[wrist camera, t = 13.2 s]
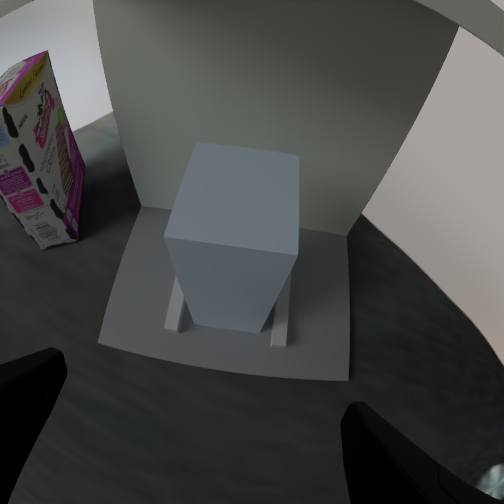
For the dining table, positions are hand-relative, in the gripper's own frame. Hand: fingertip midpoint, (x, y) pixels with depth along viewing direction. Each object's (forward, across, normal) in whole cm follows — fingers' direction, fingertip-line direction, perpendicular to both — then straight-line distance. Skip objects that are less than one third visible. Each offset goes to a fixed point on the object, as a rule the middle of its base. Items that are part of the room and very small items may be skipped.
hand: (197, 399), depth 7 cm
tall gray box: (+15, 0, +3) cm, 15 cm away
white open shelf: (+16, 0, +3) cm, 17 cm away
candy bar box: (+21, +20, -1) cm, 28 cm away
